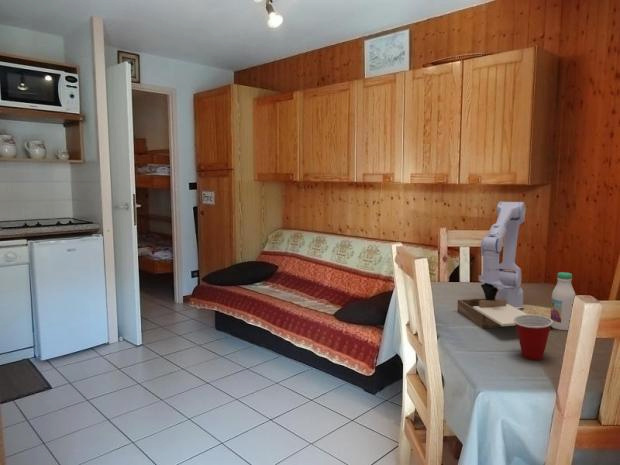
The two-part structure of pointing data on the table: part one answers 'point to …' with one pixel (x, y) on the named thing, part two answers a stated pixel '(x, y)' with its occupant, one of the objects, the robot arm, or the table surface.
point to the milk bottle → (562, 301)
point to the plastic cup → (533, 335)
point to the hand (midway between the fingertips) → (490, 303)
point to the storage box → (476, 313)
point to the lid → (499, 311)
